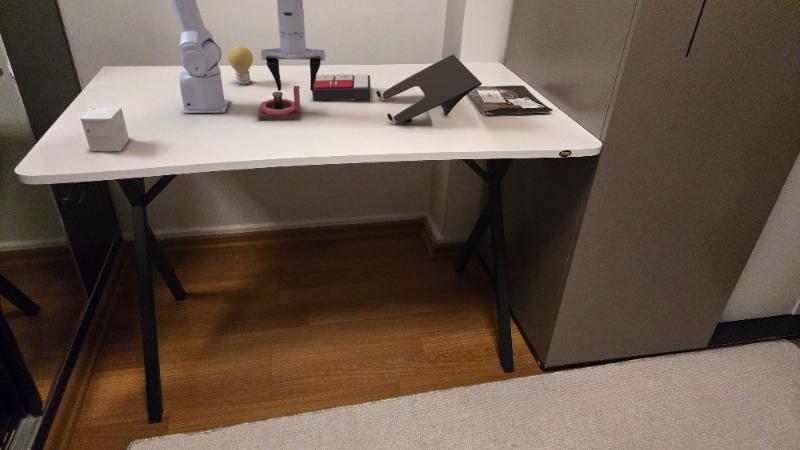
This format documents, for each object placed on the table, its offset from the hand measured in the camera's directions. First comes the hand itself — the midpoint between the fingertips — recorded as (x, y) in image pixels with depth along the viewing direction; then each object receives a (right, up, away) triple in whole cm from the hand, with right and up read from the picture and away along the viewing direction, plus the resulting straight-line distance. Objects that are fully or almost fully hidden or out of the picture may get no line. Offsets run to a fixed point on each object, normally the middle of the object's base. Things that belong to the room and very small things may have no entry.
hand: (295, 89), depth 127 cm
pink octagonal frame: (-5, -4, +2) cm, 7 cm away
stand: (-5, -5, +3) cm, 7 cm away
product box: (-36, -16, -15) cm, 42 cm away
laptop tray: (+31, -3, +8) cm, 32 cm away
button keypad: (+10, +3, +16) cm, 18 cm away
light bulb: (-18, +7, +20) cm, 28 cm away
